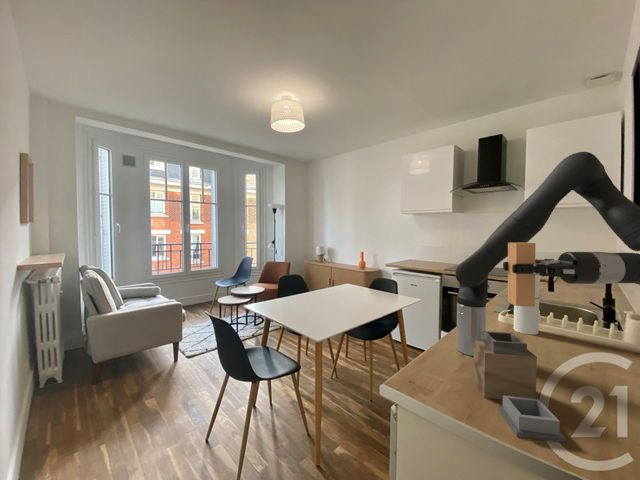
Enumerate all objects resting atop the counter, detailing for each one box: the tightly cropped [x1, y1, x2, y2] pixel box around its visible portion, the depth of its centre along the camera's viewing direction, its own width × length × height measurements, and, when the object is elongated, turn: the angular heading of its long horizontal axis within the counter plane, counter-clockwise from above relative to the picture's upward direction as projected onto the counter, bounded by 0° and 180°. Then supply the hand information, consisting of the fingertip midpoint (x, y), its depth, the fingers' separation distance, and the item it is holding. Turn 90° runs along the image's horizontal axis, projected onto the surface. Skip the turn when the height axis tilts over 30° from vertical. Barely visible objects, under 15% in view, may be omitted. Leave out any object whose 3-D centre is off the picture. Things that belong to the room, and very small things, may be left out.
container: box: [513, 275, 541, 336], centre depth 117 cm, size 9×9×30 cm
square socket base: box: [472, 330, 538, 400], centre depth 74 cm, size 8×12×15 cm, turn 79°
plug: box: [507, 242, 536, 307], centre depth 66 cm, size 4×4×15 cm
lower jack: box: [497, 396, 566, 443], centre depth 62 cm, size 9×9×4 cm
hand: (508, 267), depth 67 cm, fingers closed on plug, 4 cm apart
